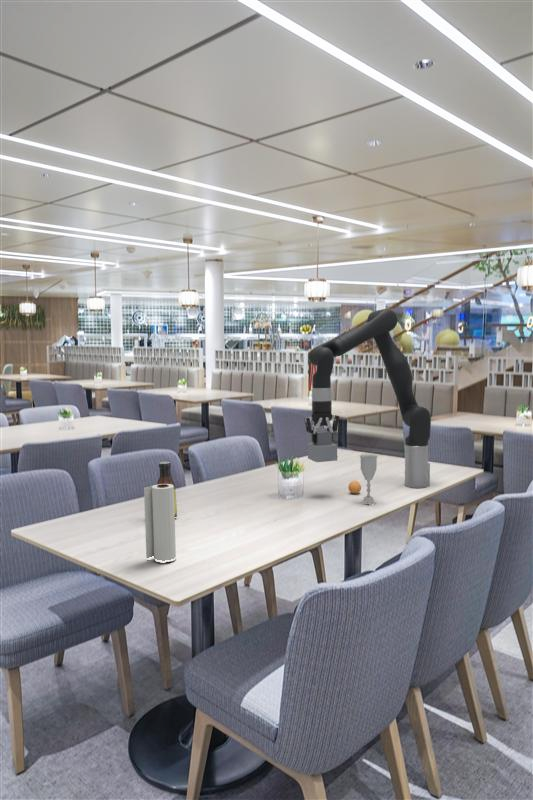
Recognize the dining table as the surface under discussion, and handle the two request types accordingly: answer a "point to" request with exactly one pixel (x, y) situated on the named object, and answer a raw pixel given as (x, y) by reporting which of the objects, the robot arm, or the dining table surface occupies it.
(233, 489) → the dining table surface
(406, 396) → the robot arm
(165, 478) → the sauce bottle
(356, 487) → the ball
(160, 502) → the paper towel roll
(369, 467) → the chalice
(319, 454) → the grey stepped block
